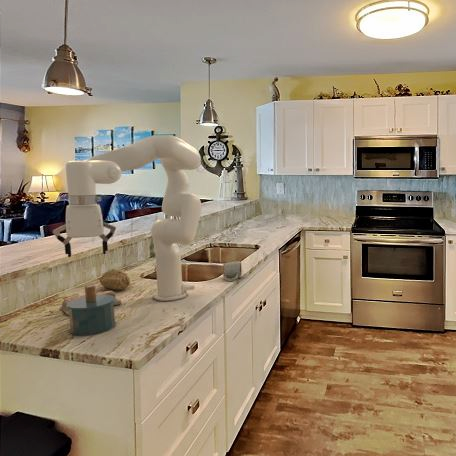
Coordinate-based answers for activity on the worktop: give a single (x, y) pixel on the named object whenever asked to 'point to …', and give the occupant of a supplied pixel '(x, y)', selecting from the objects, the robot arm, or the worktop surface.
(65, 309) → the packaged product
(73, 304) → the crock lid
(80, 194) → the robot arm
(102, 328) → the crock
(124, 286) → the brown rounded lump
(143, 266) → the worktop surface
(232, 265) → the ceramic mug
